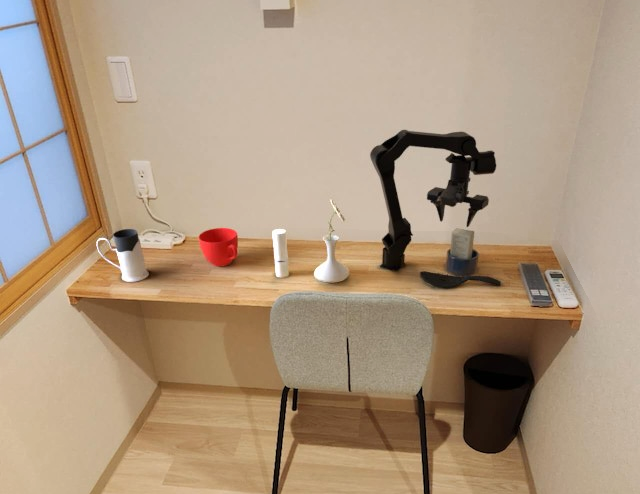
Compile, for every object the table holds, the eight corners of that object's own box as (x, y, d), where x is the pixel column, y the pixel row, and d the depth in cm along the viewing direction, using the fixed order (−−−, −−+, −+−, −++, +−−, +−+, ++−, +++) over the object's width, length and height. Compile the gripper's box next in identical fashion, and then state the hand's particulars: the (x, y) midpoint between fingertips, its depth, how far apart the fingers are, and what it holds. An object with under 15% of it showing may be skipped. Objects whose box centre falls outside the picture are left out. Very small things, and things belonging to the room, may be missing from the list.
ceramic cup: (222, 278, 180) (218, 249, 174) (195, 262, 190) (191, 235, 185) (254, 265, 186) (251, 238, 181) (227, 251, 197) (223, 224, 192)
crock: (440, 270, 179) (442, 255, 176) (452, 259, 186) (454, 244, 183) (469, 278, 174) (471, 262, 171) (481, 266, 181) (483, 250, 178)
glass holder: (146, 280, 179) (136, 237, 171) (102, 283, 179) (90, 240, 170) (151, 269, 187) (141, 227, 178) (108, 271, 186) (97, 229, 178)
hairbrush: (504, 282, 165) (420, 276, 167) (501, 293, 167) (419, 286, 169) (500, 270, 172) (420, 264, 174) (497, 280, 174) (418, 275, 176)
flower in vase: (346, 287, 172) (346, 210, 158) (311, 285, 173) (307, 208, 160) (352, 269, 182) (352, 195, 168) (318, 267, 184) (316, 194, 170)
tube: (283, 270, 183) (279, 227, 174) (291, 274, 180) (288, 231, 172) (273, 274, 180) (269, 231, 172) (281, 278, 178) (278, 235, 169)
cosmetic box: (470, 266, 180) (475, 231, 173) (466, 271, 177) (470, 236, 170) (452, 262, 183) (456, 227, 176) (447, 267, 180) (451, 232, 173)
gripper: (420, 177, 169) (417, 226, 178) (478, 188, 160) (471, 238, 168) (436, 168, 176) (432, 215, 185) (492, 178, 167) (485, 226, 176)
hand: (454, 223), depth 178 cm, fingers open, 9 cm apart
